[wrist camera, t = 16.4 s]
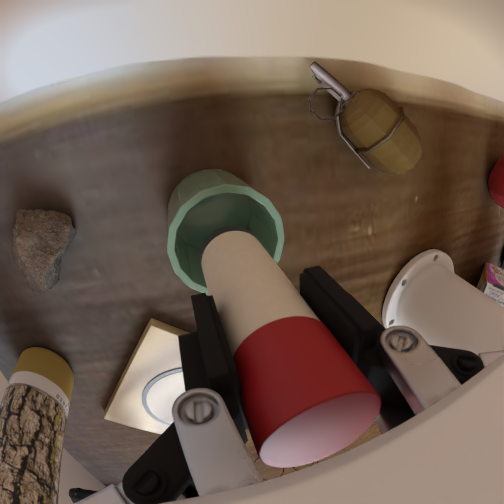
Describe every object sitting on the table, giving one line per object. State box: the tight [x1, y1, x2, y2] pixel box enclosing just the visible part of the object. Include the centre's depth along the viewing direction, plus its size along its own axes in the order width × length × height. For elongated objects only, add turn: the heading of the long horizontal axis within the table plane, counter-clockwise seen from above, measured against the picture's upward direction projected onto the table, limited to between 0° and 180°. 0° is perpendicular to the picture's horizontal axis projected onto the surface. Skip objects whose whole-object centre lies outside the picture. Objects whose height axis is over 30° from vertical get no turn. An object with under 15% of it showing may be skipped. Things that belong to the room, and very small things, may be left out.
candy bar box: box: [477, 262, 504, 307], centre depth 36 cm, size 11×5×16 cm
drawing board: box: [104, 318, 189, 434], centre depth 30 cm, size 16×16×1 cm
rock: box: [12, 208, 77, 292], centre depth 20 cm, size 6×7×5 cm
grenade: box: [308, 61, 422, 174], centre depth 21 cm, size 6×6×12 cm
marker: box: [200, 225, 381, 468], centre depth 11 cm, size 3×3×11 cm
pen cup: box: [167, 169, 285, 295], centre depth 21 cm, size 7×7×7 cm
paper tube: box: [0, 347, 74, 504], centre depth 14 cm, size 7×7×25 cm
